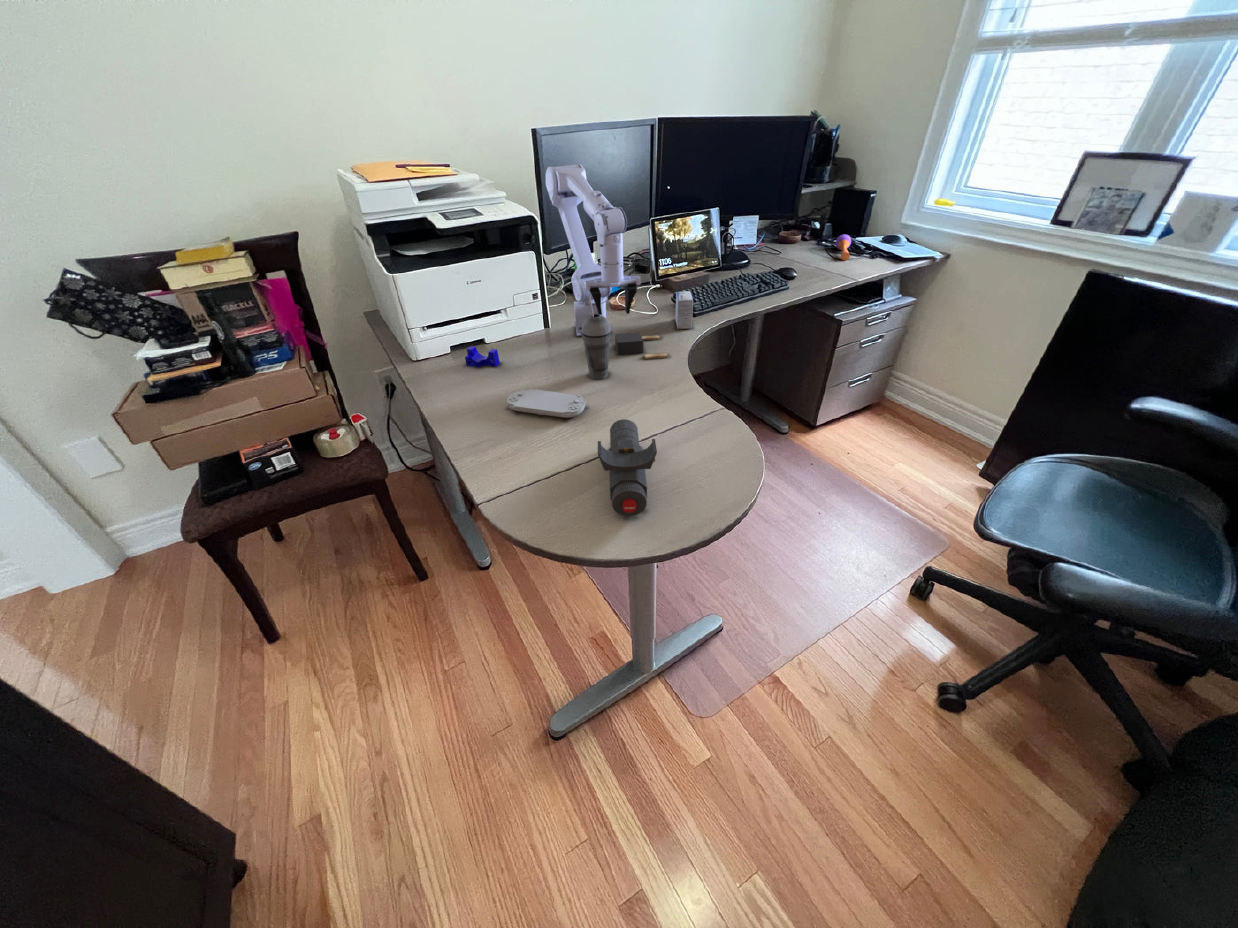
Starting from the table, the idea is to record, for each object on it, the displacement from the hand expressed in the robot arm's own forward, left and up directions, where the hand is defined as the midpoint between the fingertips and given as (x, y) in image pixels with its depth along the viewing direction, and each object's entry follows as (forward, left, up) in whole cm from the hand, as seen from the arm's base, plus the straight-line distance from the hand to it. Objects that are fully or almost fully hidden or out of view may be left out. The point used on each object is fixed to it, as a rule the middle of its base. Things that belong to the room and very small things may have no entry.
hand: (613, 314), depth 133 cm
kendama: (+103, +74, -9) cm, 127 cm away
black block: (+4, -4, -9) cm, 10 cm away
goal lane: (+10, -4, -9) cm, 14 cm away
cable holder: (-36, -7, -9) cm, 38 cm away
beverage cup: (-6, -18, -9) cm, 21 cm away
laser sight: (-4, -60, -9) cm, 61 cm away
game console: (-19, -32, -9) cm, 38 cm away
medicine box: (+22, +11, -9) cm, 26 cm away
